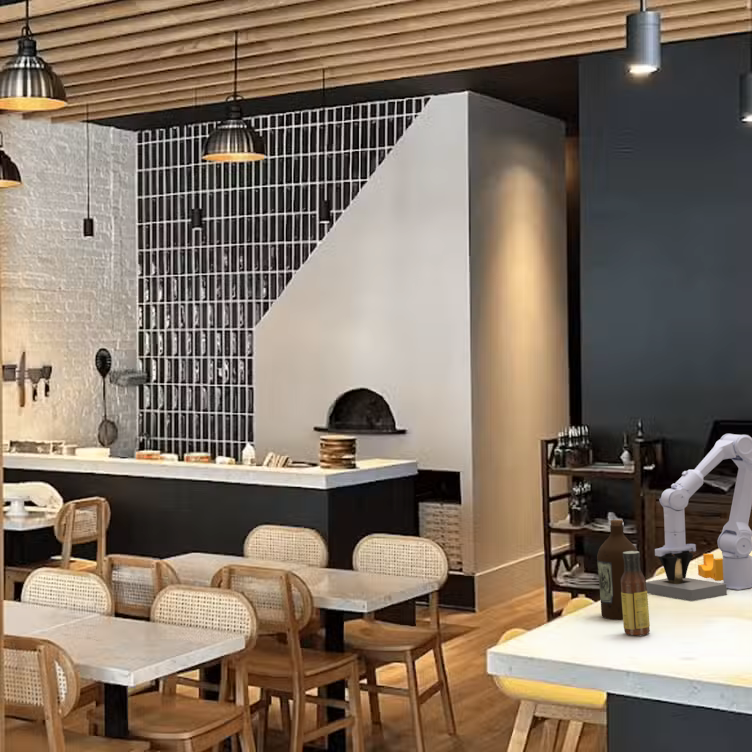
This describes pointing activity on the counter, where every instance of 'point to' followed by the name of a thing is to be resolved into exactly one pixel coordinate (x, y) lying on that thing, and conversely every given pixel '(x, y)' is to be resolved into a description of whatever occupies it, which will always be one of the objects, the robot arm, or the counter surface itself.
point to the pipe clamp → (711, 567)
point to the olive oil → (612, 570)
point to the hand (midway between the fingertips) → (676, 579)
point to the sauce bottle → (634, 596)
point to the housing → (686, 589)
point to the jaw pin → (678, 573)
